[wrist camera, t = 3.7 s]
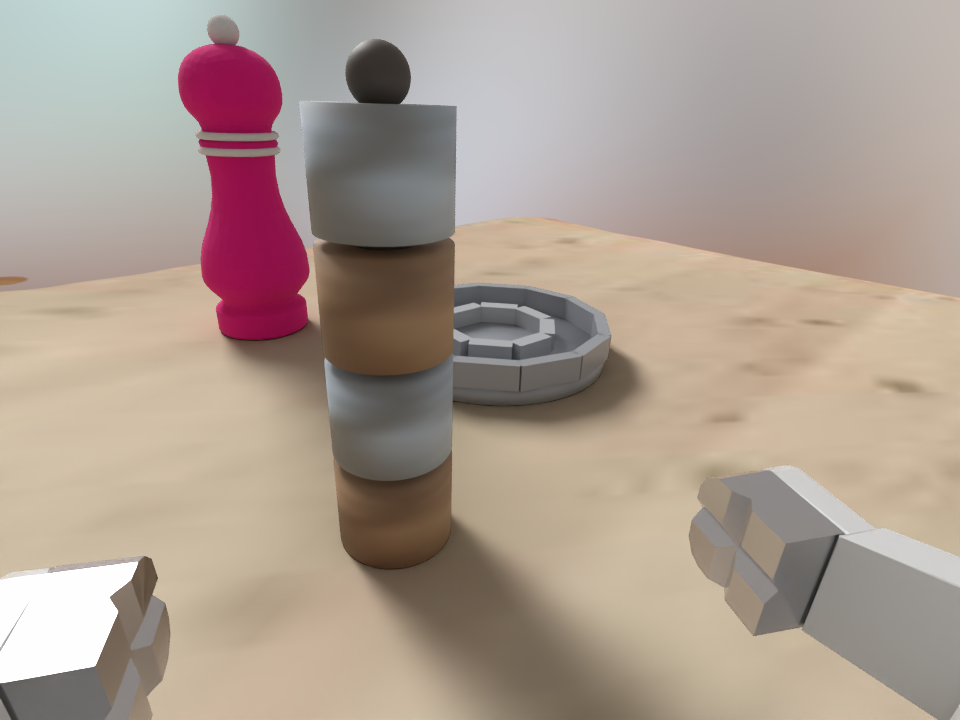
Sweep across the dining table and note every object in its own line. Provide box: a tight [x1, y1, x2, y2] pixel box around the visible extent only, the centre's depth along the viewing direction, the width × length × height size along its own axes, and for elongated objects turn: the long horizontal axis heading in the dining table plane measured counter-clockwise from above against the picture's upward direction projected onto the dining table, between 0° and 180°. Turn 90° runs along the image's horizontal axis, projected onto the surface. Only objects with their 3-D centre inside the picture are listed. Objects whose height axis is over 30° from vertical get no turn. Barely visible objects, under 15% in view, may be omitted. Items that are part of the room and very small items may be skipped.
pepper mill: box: [178, 15, 309, 340], centre depth 37 cm, size 7×7×20 cm
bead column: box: [299, 39, 456, 569], centre depth 19 cm, size 4×4×17 cm
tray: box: [452, 283, 611, 406], centre depth 38 cm, size 15×15×3 cm
